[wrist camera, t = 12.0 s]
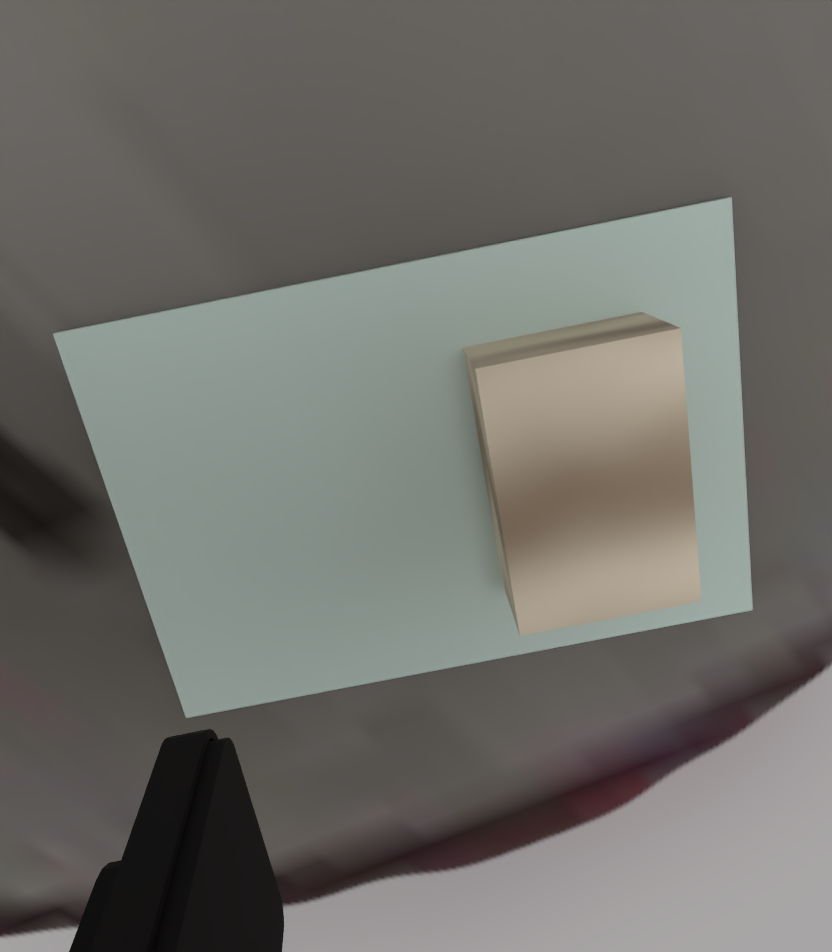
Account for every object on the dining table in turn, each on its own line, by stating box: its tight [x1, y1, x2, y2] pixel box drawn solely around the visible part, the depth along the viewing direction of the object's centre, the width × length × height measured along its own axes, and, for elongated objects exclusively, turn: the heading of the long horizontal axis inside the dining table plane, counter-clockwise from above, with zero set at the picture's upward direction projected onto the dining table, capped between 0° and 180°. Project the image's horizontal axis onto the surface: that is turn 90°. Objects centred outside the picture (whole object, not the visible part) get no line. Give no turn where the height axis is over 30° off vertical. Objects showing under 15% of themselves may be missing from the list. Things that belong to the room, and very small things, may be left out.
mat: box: [53, 197, 753, 718], centre depth 28 cm, size 22×15×1 cm
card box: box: [463, 312, 701, 636], centre depth 26 cm, size 9×6×4 cm, turn 11°
